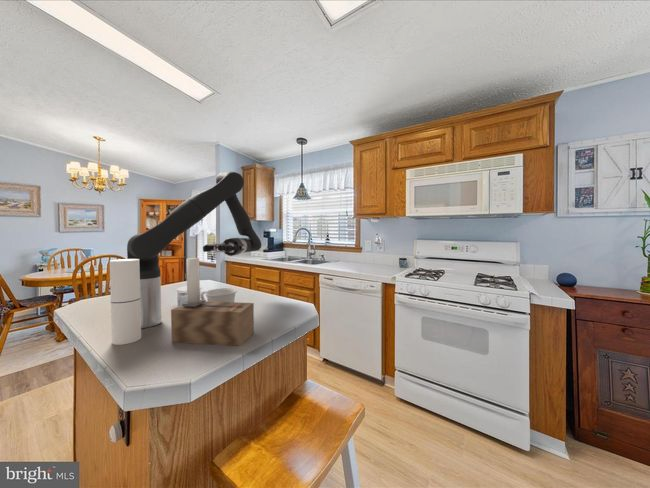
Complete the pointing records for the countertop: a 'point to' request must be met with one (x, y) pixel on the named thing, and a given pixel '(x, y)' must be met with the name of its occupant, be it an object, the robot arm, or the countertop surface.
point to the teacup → (219, 295)
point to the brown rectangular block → (213, 323)
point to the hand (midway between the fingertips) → (215, 248)
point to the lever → (193, 283)
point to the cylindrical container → (125, 301)
